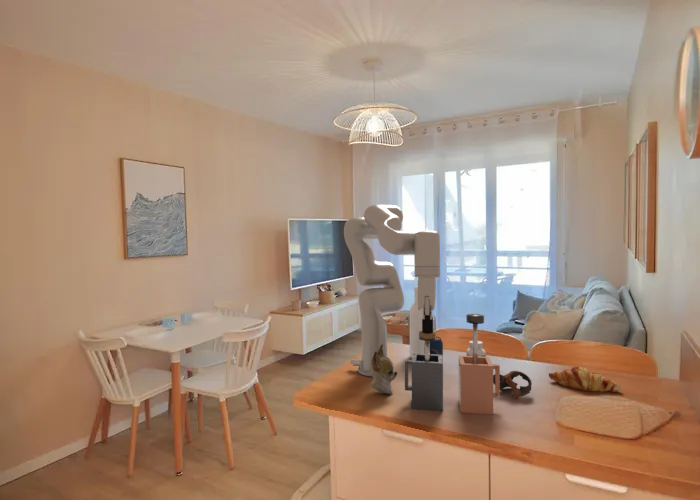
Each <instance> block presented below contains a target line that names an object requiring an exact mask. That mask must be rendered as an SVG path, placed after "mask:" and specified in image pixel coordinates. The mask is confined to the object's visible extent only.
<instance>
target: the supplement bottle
mask: <svg viewBox="0 0 700 500" xmlns="http://www.w3.org/2000/svg"><path fill="white" fill-rule="evenodd" d="M468 345H469V347H468V348H467V349H466V356H473V340H469V342H468ZM483 346H484V343H483V341H481V340H478V356H479V357H487V356H486V355H487V354H486V350H485V349H484V348H483Z"/></svg>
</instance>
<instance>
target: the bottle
mask: <svg viewBox="0 0 700 500" xmlns="http://www.w3.org/2000/svg"><path fill="white" fill-rule="evenodd" d="M413 291H414V303H412V304H411V306H410V308H409V357H410V358H411V359H412V357H413V354H425V341H424V340H420V339H419V331H422V319H423V307H422V309H420V311H419V310H418V285H415V286H414V289H413Z"/></svg>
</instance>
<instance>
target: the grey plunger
mask: <svg viewBox="0 0 700 500" xmlns="http://www.w3.org/2000/svg"><path fill="white" fill-rule="evenodd" d="M465 317H466V319H465V320H466V321H465V322H466V323H468V324H472V341H473V364H478V341H479V340H478V339H479V338H478V337H479V335H478V333H479V330H478V329H479V328H478V327H479V326H478V325H481V324H484V323H485V315H484V314H481V313H480V314H479V313H468V314H466V316H465Z"/></svg>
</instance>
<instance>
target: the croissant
mask: <svg viewBox="0 0 700 500" xmlns="http://www.w3.org/2000/svg"><path fill="white" fill-rule="evenodd" d="M548 377H549V378H550V380H551V381H552V380H553V381H554V382H556V383H558V384H559V385H561V386H563V387H567V388H571V389H574V390H580V391H586V392H611V393H613V392H614V393H615V392H619V391H621V389H622V386H621V385H620V384H618V383H617V382H615V381H614V380H613V379H608V378H606V376H605V377H604V376H603V374H601V373H599V372H592V371H591V372H590V370H588V369H587V368H585V367H581V366H575V365H574V366H573V367H572V368H570V369H564V370H563V371H562V372H560V371H555V372H553V373H551V372H549V373H548Z"/></svg>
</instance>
